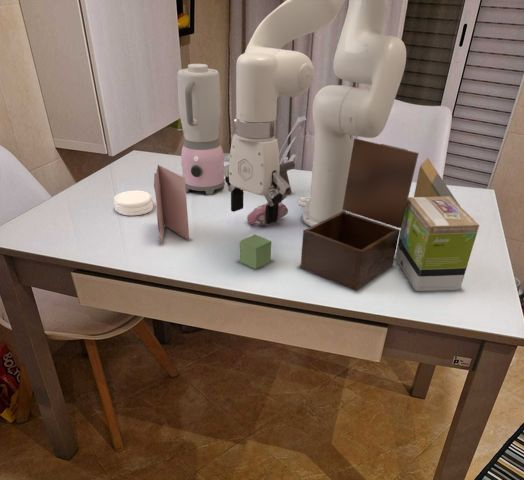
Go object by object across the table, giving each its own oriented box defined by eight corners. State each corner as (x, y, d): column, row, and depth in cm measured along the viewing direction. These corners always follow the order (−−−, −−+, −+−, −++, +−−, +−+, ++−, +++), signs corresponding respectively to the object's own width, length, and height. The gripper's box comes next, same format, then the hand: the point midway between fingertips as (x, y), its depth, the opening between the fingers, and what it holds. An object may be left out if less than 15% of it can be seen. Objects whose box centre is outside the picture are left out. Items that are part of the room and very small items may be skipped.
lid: (417, 153, 96) (428, 150, 99) (354, 138, 104) (366, 136, 107) (399, 228, 105) (410, 223, 108) (342, 209, 112) (354, 205, 115)
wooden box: (356, 291, 102) (362, 252, 96) (300, 267, 109) (303, 230, 104) (392, 266, 110) (400, 229, 105) (338, 246, 118) (342, 211, 113)
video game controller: (251, 233, 127) (257, 214, 121) (244, 219, 128) (250, 200, 122) (285, 226, 130) (292, 207, 124) (278, 213, 132) (285, 194, 126)
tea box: (392, 258, 113) (405, 195, 104) (435, 257, 114) (451, 194, 105) (414, 292, 102) (430, 224, 93) (461, 291, 102) (482, 223, 93)
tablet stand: (277, 185, 151) (278, 156, 146) (296, 191, 147) (298, 162, 142) (256, 192, 146) (257, 163, 141) (276, 199, 142) (277, 169, 136)
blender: (191, 179, 154) (183, 60, 134) (229, 182, 152) (227, 63, 132) (173, 196, 142) (161, 69, 122) (214, 201, 140) (209, 72, 120)
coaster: (108, 212, 132) (105, 199, 130) (129, 200, 139) (127, 187, 137) (140, 218, 129) (138, 205, 127) (160, 205, 136) (159, 193, 134)
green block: (239, 261, 111) (239, 241, 108) (254, 254, 114) (254, 234, 111) (255, 269, 108) (256, 248, 105) (270, 261, 111) (271, 240, 108)
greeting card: (161, 225, 126) (154, 164, 117) (190, 224, 127) (186, 164, 117) (157, 244, 117) (149, 181, 108) (189, 244, 118) (184, 180, 108)
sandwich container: (469, 236, 124) (486, 175, 115) (407, 224, 129) (419, 165, 120) (473, 223, 130) (490, 165, 121) (414, 213, 135) (426, 156, 126)
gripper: (209, 123, 96) (212, 209, 106) (278, 141, 87) (273, 233, 97) (236, 118, 101) (236, 201, 111) (304, 134, 92) (297, 223, 102)
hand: (253, 216), depth 104 cm, fingers open, 9 cm apart
